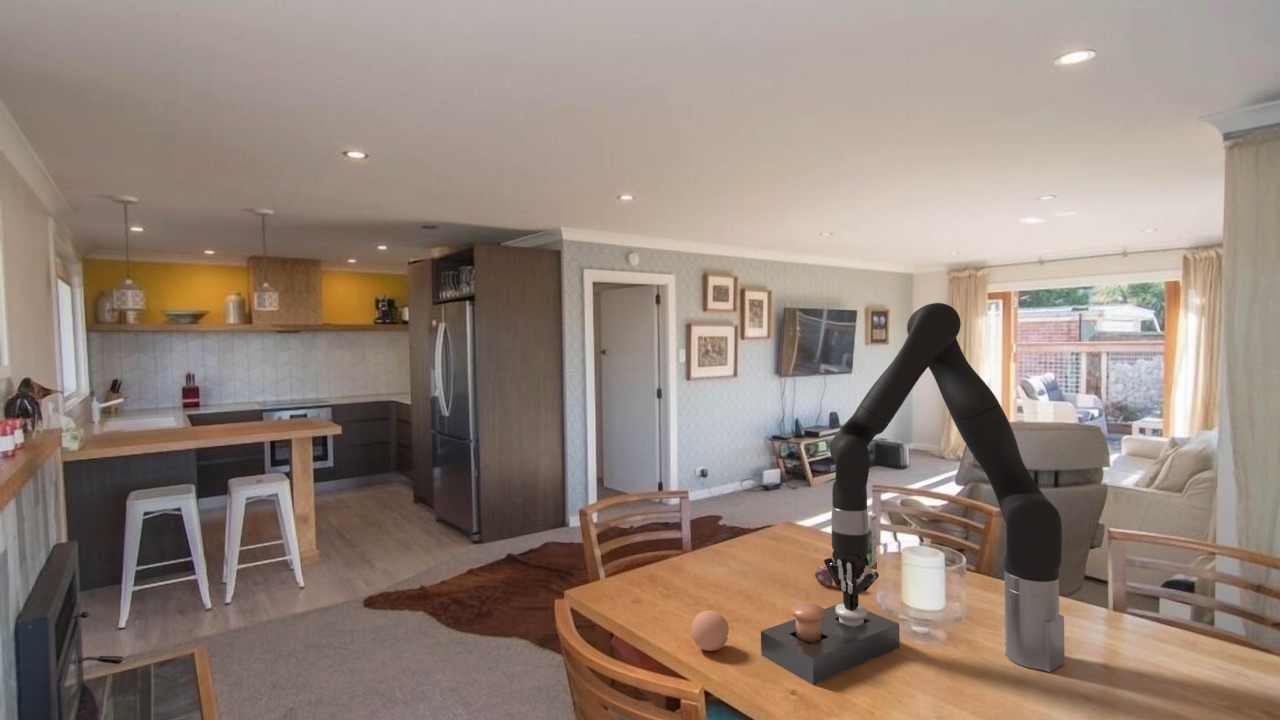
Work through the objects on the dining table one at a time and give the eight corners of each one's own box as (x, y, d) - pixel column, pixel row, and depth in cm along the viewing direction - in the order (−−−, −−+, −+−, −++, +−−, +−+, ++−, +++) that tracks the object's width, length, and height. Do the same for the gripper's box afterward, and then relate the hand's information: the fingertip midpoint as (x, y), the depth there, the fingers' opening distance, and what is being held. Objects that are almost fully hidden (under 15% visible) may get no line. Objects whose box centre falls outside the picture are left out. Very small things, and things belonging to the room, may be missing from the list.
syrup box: (851, 565, 181) (850, 515, 181) (857, 559, 186) (856, 510, 186) (871, 569, 178) (870, 518, 178) (877, 563, 183) (876, 513, 182)
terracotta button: (832, 638, 126) (831, 611, 126) (809, 647, 122) (809, 618, 122) (807, 627, 131) (807, 600, 131) (785, 635, 128) (785, 607, 128)
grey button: (874, 636, 133) (873, 610, 133) (854, 644, 129) (853, 617, 129) (849, 625, 138) (848, 600, 138) (829, 633, 135) (829, 607, 135)
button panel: (899, 647, 131) (899, 623, 131) (813, 684, 118) (812, 658, 117) (845, 623, 143) (845, 601, 143) (761, 655, 129) (760, 631, 129)
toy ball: (735, 646, 133) (734, 609, 133) (719, 661, 127) (718, 623, 127) (702, 637, 138) (701, 601, 138) (684, 652, 131) (684, 614, 131)
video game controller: (815, 590, 167) (812, 570, 164) (818, 577, 171) (815, 558, 168) (854, 596, 162) (851, 576, 160) (856, 583, 166) (854, 563, 163)
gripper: (888, 532, 130) (888, 615, 130) (837, 518, 141) (837, 595, 141) (864, 539, 126) (865, 624, 126) (813, 524, 137) (814, 602, 137)
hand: (850, 608), depth 134 cm, fingers closed
